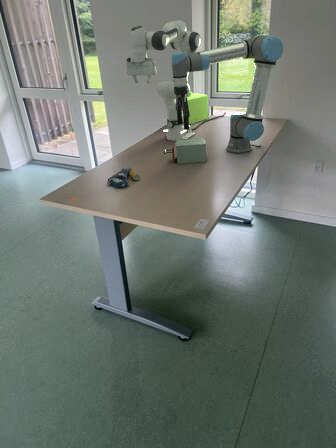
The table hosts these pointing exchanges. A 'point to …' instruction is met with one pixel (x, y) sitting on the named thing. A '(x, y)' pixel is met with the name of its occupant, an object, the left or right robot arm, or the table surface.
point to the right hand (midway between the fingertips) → (183, 126)
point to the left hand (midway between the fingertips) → (142, 83)
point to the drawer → (171, 152)
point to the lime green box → (197, 107)
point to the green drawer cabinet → (191, 151)
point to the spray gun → (123, 177)
